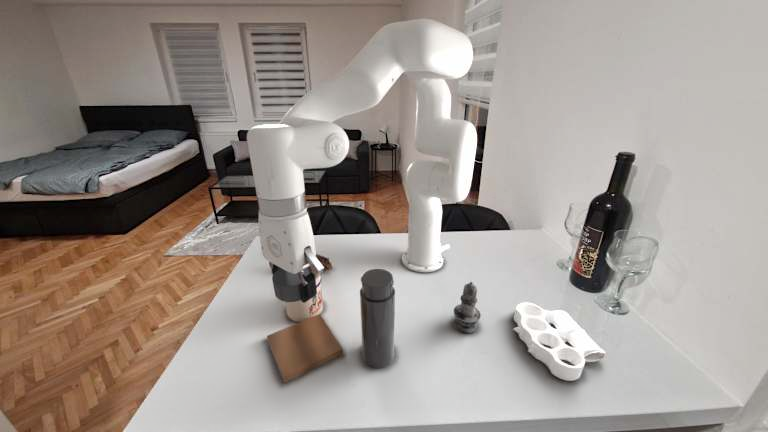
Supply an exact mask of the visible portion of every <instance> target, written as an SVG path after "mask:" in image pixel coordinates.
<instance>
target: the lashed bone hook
mask: <svg viewBox="0 0 768 432" xmlns="http://www.w3.org/2000/svg"><path fill="white" fill-rule="evenodd" d="M316 257H317V259H318V260H319V261H320V263H321V264H322V265H323V267H324V270H323V271H326V270H327V271H328V270H332V269H333V263H332V262H331V261H330V257H325V256H324V255H321V254H319V253H316ZM304 264H306V262H305V261H304ZM269 268H270V269H271V268H273V267H271V266H270V265H269Z"/></svg>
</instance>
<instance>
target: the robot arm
mask: <svg viewBox="0 0 768 432" xmlns="http://www.w3.org/2000/svg"><path fill="white" fill-rule="evenodd" d="M473 60H474V49H473V45H472V41H471V40H470V38H469V37H468V36H467V34H465V33H464V32H462V31H460V30H458V29H456V28H453V27H452V26H449V25H447V24H444V23H443V22H440V21H437V20H434V19H431V18H417V19H410V20H402V21H396V22H395V21H394V22H391V23H388V24H385V25H384V26H382V27H381V28H379V29H378V31H376V33H375V34H374V35H373V36H372V37H371V38H369V40H368V42H367V43H366V44H365V45H364V46H363V47H362V49H360V51H359V52H358V53H357V54H356V55H355V56H354V57H353V59H352V60H351V61H350V62H349V63H348V64H347V66H345V67H344V68H343V69H342V70H340V71H339V72H337V73H335V74H333V75H332V76H331V77H329V78H327V79H326V80H325V81H323V82H321V83H320V84H318V85H317V86H315V87H313V88H312V89H311V90H309V91H307V92H306V93H305V94H304V95H303V96H301V97H300V98H299V99H298V100H297V101H296V102H295V103H294V104H293V105H292V106H291V107H290V109H289V110H288V111H287V112H286V113H285V114H284V116H282V118H281V119H280V121H279V122H278V124H277V123H275V124H274V123H273V124H272V123H271V124H262V125H261V124H260V125H256V126H253V127H251V128H250V129H248V131H247V133H246V143H247V149H248V155H249V159H250V165H251V171H252V176H253V183H254V188H255V194H256V199H257V200H256V201H257V204H258V205H257V206H258V231H259V243H260V248H261V254H262V257H263V258H264V259H265V260H266V261H268V265H269V267H270V266H271V267H273V268H270V269H271V274H272V276H273V274H274V272H275V271H276V270H277V269H279V268H282V269H284V270H286V271H288V272H290V273H293V274H298V276H299V279H300V281H301V283H300V284H299V288H300V295H301V301H302V302H303V303H305V302H307V301H308V300H310V299H311V298H313V297H314V296H316V294H317V289H316V280H315V279H316V278H317V277H318V276H321V274H322V273H323V272H324V271H325V270H324V267H323V265H322V264H321V263H320V261H319V260H318V259H317V257H316V254H317V250H316V243H315V237H314V231H313V227H312V224H311V223H312V222H311V219H310V215H309V212H308V211H307V210H308V205H307V197H306V188H305V177H304V171H305V170H312V169H328V168H331V167H335V166H337V165H339V164H340V163H342V161H344V160H345V158H346V157H347V156H348V153H349V150H350V140H349V137H348V135H347V133H346V131H345V130H344V129H343V128H342V127H341V126H339V125H338V124H336V123H334V122H335V121H337V120H339V119H341V118H344V117H347V116H349V115H353V114H357V113H360V112H364V111H366V110H368V109H369V110H370V109H371V108H374V107H375V106H377V105H379V103H380V102H381V101H382V100H383V99H384V97H385V96H386V94H387V93H388V92H389V90H390V89H391V88H392V87H393V85H395V83H396V81H398V79H399V78H400V76H402V74H404V75H405V76H406V77H407V79H408V80H409V82H410V83H411V85H412V87H413V89H414V93H415V97H416V111H415V124H414V125H415V127H414V147H415V149H416V150H417V152H419V153H421V154H423V155H426V156H431V157H437V158H443V159H448V160H449V162H443V161H439V160H433V159H430V158H429V159H427V158H420V159H416V160H414V161H412V162H411V163H410V164H409V166H407V167H408V168H407V170H406V173H405V174H406V175H405V180H406V181H405V182H406V188H407V193H408V221H407V223H408V224H407V225H408V226H407V250H406V251H405V252H404V253H403V254H402V255H401V256H402V257H401V262H402V264H403V265H404V267H406V268H407V269H409V270H411V271H413V272H417V273H432V272H436V271H438V270H440V269H441V268H442V267H443V265H444V257H443V255H442V254H443V253H444V252H446V251H449V250H450V249H451V246H450V243H445V244H442V243H441V232H442V231H441V230H442V220H443V204H442V201H446V202H450V203H460V202H463V201H464V200H466V198H467V197H468V195H469V193H470V189H471V187H472V181H473V173H474V166H475V159H476V153H477V144H478V134H477V130H476V127H475V125H474V124H473V123H472V122H471V121H468V120H465V119H457V118H451V109H452V93H451V90H450V88H449V85H448V83H447V82H446V80H457V79H460V78H462V77H464V76H465V75H466V74H467V73H468V72H469V70H470V68H471V67H472V64H473ZM441 200H442V201H441ZM304 262H306V264H304ZM303 264H304V265H303ZM306 268H308V271H309V274H308V275H307V276H306V277H305V274H304V272H303V270H304V269H306Z"/></svg>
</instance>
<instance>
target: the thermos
mask: <svg viewBox="0 0 768 432" xmlns="http://www.w3.org/2000/svg"><path fill="white" fill-rule="evenodd" d="M360 283H361V288H360V290H359V303H360V304H359V305H360V327H361V329H360V330H361V349H362V360H363V362H364V363H365V364H366V365H367V366H369V367H370V368H373V369H383V368H385V367H388V366H389V365H390V364H392V362H393V360H394V358H395V318H396V317H395V315H396V314H395V313H396V312H395V310H396V307H395V306H396V290H395V287H394V277H393V274H392V272H390V271H389V270H387V269H383V268H373V269H368V270H367V271H365V272H364V273H363V274H362V275H361V277H360Z"/></svg>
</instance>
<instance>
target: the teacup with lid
mask: <svg viewBox="0 0 768 432" xmlns="http://www.w3.org/2000/svg"><path fill="white" fill-rule="evenodd" d="M315 280H316V289H317V294H316V296H314V297H313V298H311V299H310V300H308V301H307V302H305V303H303V302H302V301H301V300H300V301H296V302H284V305H285V311H286V315H287V317H288V319H290V320H291V321H293V322H297V323H299V322H302V321H304V320H307V319H309V318H312V317H314V316H316V315H319V314H320V315H321V313H322V312H323V309H324V301H323V292H322V276H321V275H320V276H318V277H317V278H316V279H315Z"/></svg>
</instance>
